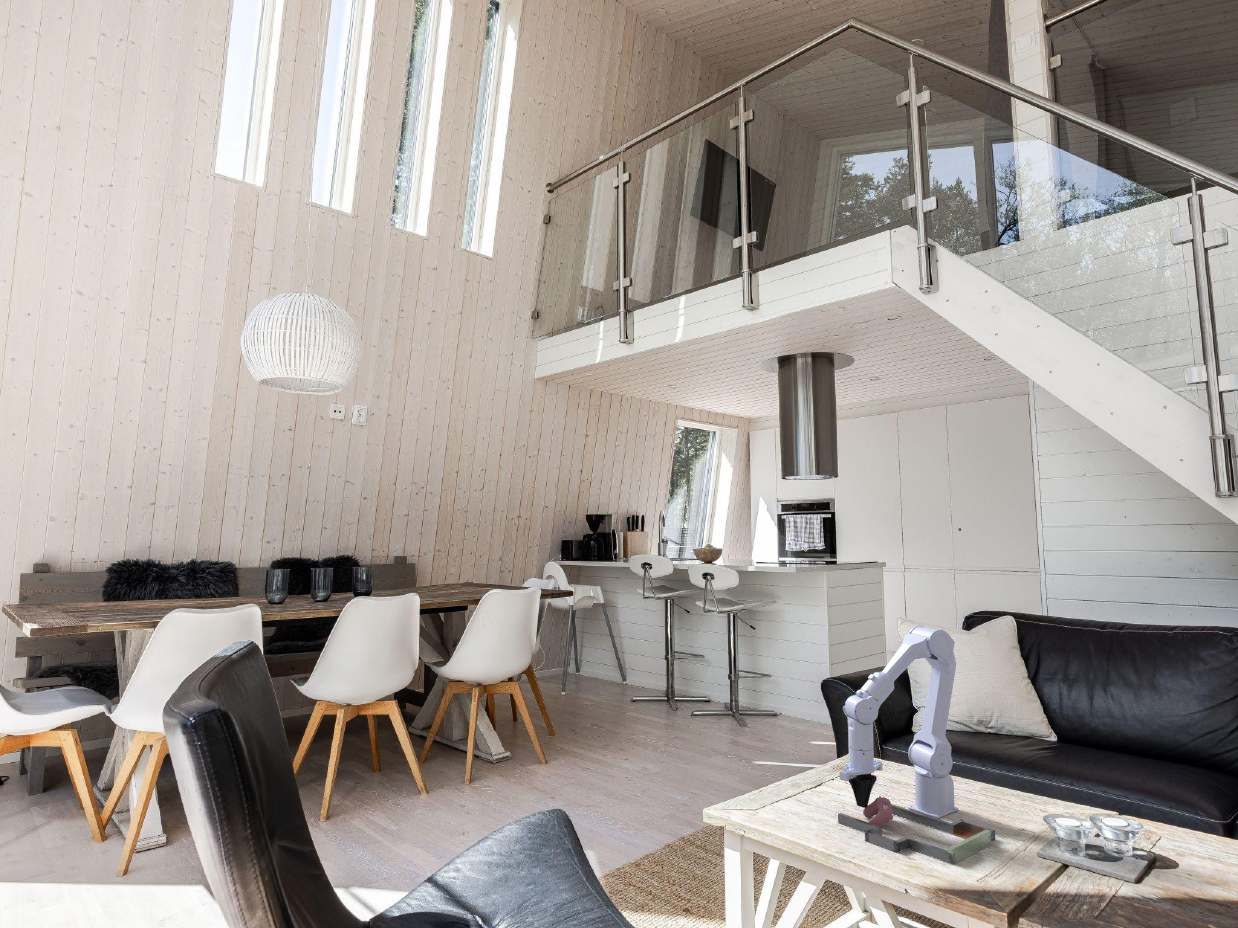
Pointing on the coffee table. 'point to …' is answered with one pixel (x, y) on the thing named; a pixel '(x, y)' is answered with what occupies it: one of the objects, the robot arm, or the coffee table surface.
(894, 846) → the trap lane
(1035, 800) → the coffee table surface
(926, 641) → the robot arm
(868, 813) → the video game controller
